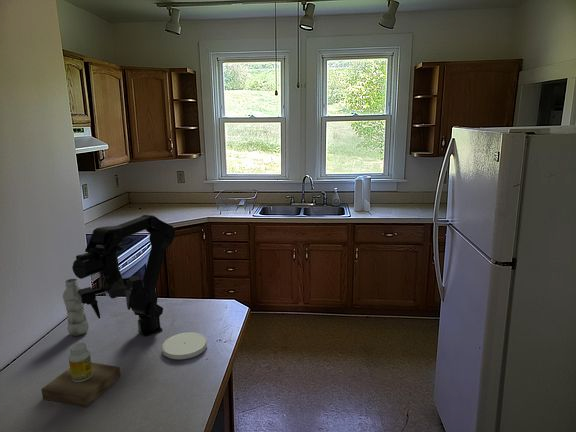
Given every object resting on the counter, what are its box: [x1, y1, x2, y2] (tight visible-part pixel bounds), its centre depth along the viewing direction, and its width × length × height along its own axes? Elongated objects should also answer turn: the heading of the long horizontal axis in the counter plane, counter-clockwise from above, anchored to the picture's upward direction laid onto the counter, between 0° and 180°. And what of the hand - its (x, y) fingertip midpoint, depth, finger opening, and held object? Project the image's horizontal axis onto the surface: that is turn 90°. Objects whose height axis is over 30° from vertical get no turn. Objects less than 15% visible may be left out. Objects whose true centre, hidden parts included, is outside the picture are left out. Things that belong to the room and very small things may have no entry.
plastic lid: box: [161, 331, 208, 360], centre depth 134 cm, size 14×14×2 cm
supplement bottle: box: [68, 342, 93, 382], centre depth 114 cm, size 5×5×10 cm
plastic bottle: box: [62, 278, 89, 337], centre depth 144 cm, size 6×7×20 cm
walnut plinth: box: [41, 361, 121, 408], centre depth 116 cm, size 14×14×3 cm
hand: (114, 313), depth 132 cm, fingers open, 9 cm apart
